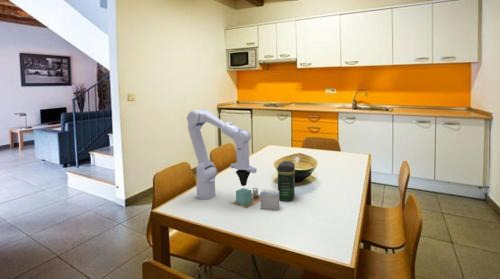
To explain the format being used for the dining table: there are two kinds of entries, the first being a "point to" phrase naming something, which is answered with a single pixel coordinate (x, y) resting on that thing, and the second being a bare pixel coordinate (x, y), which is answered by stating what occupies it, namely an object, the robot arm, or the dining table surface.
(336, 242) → the dining table surface
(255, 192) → the round post
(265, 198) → the medicine box
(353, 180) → the dining table surface
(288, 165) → the coffee jar
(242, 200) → the teal foam brick
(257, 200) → the stand plate
